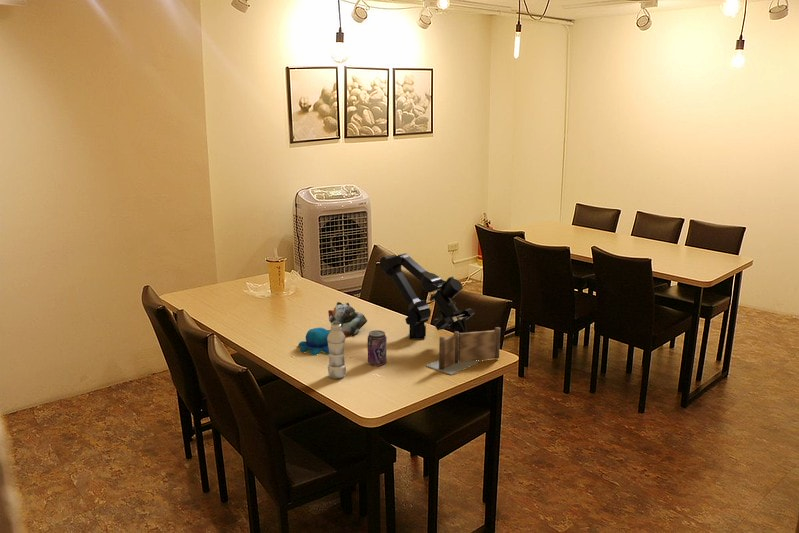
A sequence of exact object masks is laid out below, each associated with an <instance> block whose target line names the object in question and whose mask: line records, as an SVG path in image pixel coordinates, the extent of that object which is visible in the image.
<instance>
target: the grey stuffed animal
mask: <svg viewBox="0 0 799 533" xmlns="http://www.w3.org/2000/svg"><path fill="white" fill-rule="evenodd" d="M327 313H328V321H329V322H330V324H331V323H333V322H339V323H341V327H342V329H341V331H342V332H343V334H344V335H345V337H353V336H354V335H355V334H357V333H358V332H359V331H360V330H361V329H362V328H363V327H364V326H365V325H366V324H367V322H368V319H367V318H366V316H365V315H364V314H363V313H362V312H357V311H356V310H355V308H354V307H353V306H352V305H350V303H349V302H348V301H346V302H345V303H344V304H343V303H342V302H340V301H337V302H336V305H335V307H334V308H333V309H332V310H328V311H327ZM351 335H352V336H351Z"/></svg>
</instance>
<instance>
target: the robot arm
mask: <svg viewBox="0 0 799 533" xmlns="http://www.w3.org/2000/svg"><path fill="white" fill-rule="evenodd" d="M379 267H380V268H381V270H382V271H383V273H385V274H386V275H388V276H389V277H390V278H391V279H392V280H393V282H394V283H395V285H396V287H397V288H398V290H399V292H400V293H401V295H402V297H403V298H404V300H405V302H406V304H407V306H408V307H407V308H408V309H407V310H408V314H409V315H408V316H407V317H406V318H404V320H405V323H406V325H409V326H408V328H409V332H408V333H409V334H408V339H409V340H425V337H426V336H427V325H426V324H425V323H427V322H428V321H429V319H430V317H431V313H432V310H431V309H430V308H431V307H430V306H429V304H428V302H427V301H426V299H423V300H421V299H419V297H418V296H417V294H416V293H415V290H414V289H413V287H412V285H410V283H409V281H408V279H407V278H406V276H405V274H404V273H403V272H402V267H403V268H405V270H407V272H409V273H410V274H411V275H412V276H413V277H415V278H416V279H417V280H418V281H419V283H420V286H421V287H422V288H423V290H424V291H425V292H426V293H431V294H430V298H429V301H430V302H433V301H435V303H436V305H437V306H438V308H439V315H440V316H439V317H437V318H434V319H432V324H433V326H434V327H435V328H436V330H437V331H440V330H441V331H442V330H444V329H448V330H449V329H451V330H454V331H458V332H459V333H467V332H468V330H467V329H468V327H467V320H468V319H469V318H471V317H472V316H474V314H475V311H474V310H473V308H470V307H469V308H466V309H464V310H463V311H462V310H461V309H458V308H457V307H456V304H457V303H456V301H453V298H455V296H457V295H458V294H459V293H460V292H461V291H463V284H462V282H461V281H459V280H458V279H457V278H456V279H455V277H454V276H449V277H448V278H447V279H446V280H444V279H443V278H441V277H440V275H437V274H436V273H432V272H429V271H428V270H426V269H425V268H424V267H422V266H421V265H420V264H419V263H418V262H416V261H415V260H414V259H413V257H411V256H410V255H409V254H408V253H401V254H398V255H396V254H391V255H385V256H382V257H381V258H380V260H379ZM433 292H434V293H433Z"/></svg>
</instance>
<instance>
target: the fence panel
mask: <svg viewBox="0 0 799 533" xmlns="http://www.w3.org/2000/svg"><path fill="white" fill-rule="evenodd" d="M500 347H501V327H499V326H497V327H494V329H492V330H481V331H480V330H479V331H469V332H468V331H467V333H459V359H458V361H459V362H463V361H474V360H484V361H486V360H491V359H492V360H493V359H496V360H497V359H500ZM485 359H486V360H485Z"/></svg>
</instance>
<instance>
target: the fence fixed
mask: <svg viewBox="0 0 799 533" xmlns="http://www.w3.org/2000/svg"><path fill="white" fill-rule="evenodd" d="M438 344H439V347H438V348H439V351H438V352H439V353H438V360H439V369H441V370H443V369H444V368H446V367H448V366H451V365H453V364H455V363H458V358H459V332H458V331H456V330H454V331H453V334H452V335H449V336H447V337H445V336H440V337H439V343H438Z"/></svg>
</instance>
